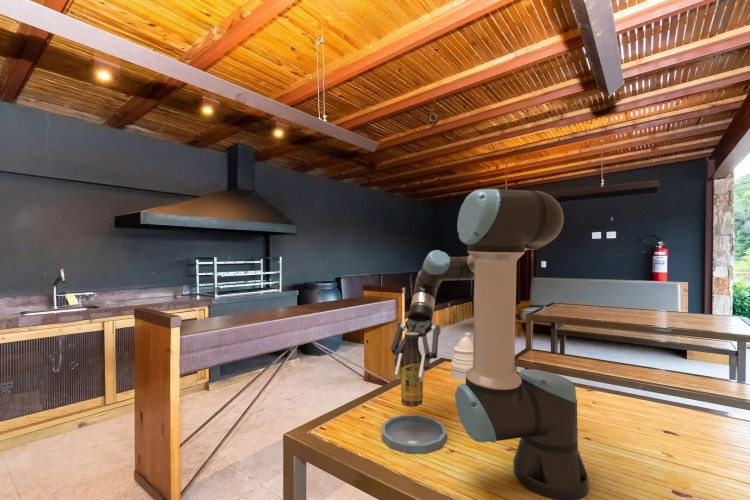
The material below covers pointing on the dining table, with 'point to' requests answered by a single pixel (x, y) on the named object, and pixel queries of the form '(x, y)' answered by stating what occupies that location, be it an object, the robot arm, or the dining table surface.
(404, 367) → the sauce bottle
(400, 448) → the serving plate
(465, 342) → the honey pot
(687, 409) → the dining table surface
